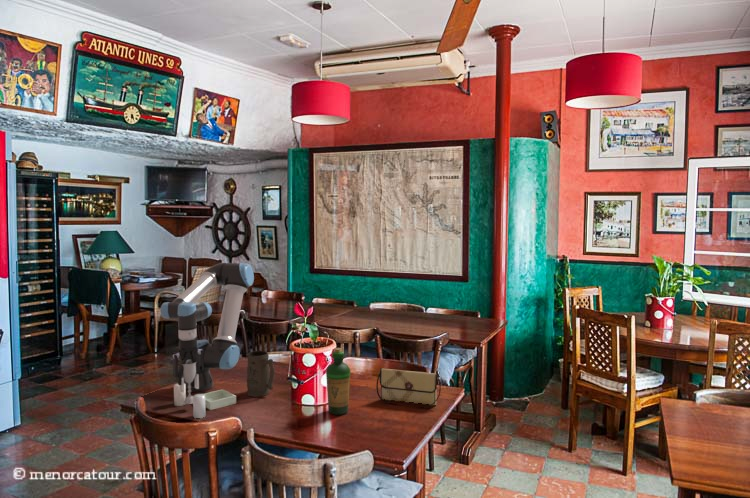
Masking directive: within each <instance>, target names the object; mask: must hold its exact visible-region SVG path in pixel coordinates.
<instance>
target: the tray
mask: <svg viewBox="0 0 750 498" xmlns="http://www.w3.org/2000/svg"><path fill="white" fill-rule="evenodd" d="M204 394H205V409H208V410H209V411H212V410H215V409H221V408H224V407H227V406H231V405H235V404H237V395H235V394H233V393H232V392H230V391H227V390H226V389H223V388H222V389H218V390H213V391H210V392H205V393H204Z"/></svg>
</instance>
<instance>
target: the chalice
mask: <svg viewBox="0 0 750 498" xmlns="http://www.w3.org/2000/svg"><path fill="white" fill-rule="evenodd" d="M181 365H183V366H184V371H183V374H182V377H183V378H184V380H185V381H186V383H188V391H187V392H186V393H188V395H186V398H185V401H184V403H185V405H190V404H191V405H193V396H194V395H192V394H191V393H192V392H191V385H190V383H191V382H192V381H193V379H194V377H195V374H196V362H195V363H192V360H187V361H186V363H185V364H181Z"/></svg>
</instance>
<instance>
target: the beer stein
mask: <svg viewBox="0 0 750 498" xmlns="http://www.w3.org/2000/svg"><path fill="white" fill-rule="evenodd" d="M246 358H247V367H246V387H247V392H246V394H247V395H248V396H250V397H253V398H254V397H257V398H259V397H260V398H261V397H264V396H265V397H266V396H267V395H269V394H270V392H271V391H272V390H273V389H274V387H273V382H274V379H275V366H274V362H273V361H274V360H273V359H272V358H269V352H267V351H264V350H253V351H250V352H248V353H247V357H246Z"/></svg>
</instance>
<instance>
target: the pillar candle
mask: <svg viewBox="0 0 750 498" xmlns="http://www.w3.org/2000/svg"><path fill="white" fill-rule="evenodd" d="M192 396H193V403H192V406H193V407H192V408H193V409H192V412H193V413H192V415H193V417H194V419H196V418H200V419H203V417H204V418H205V417H206V415H207V413H206V409H207V408H206V407H205V393H196V394H194V395H192Z"/></svg>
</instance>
